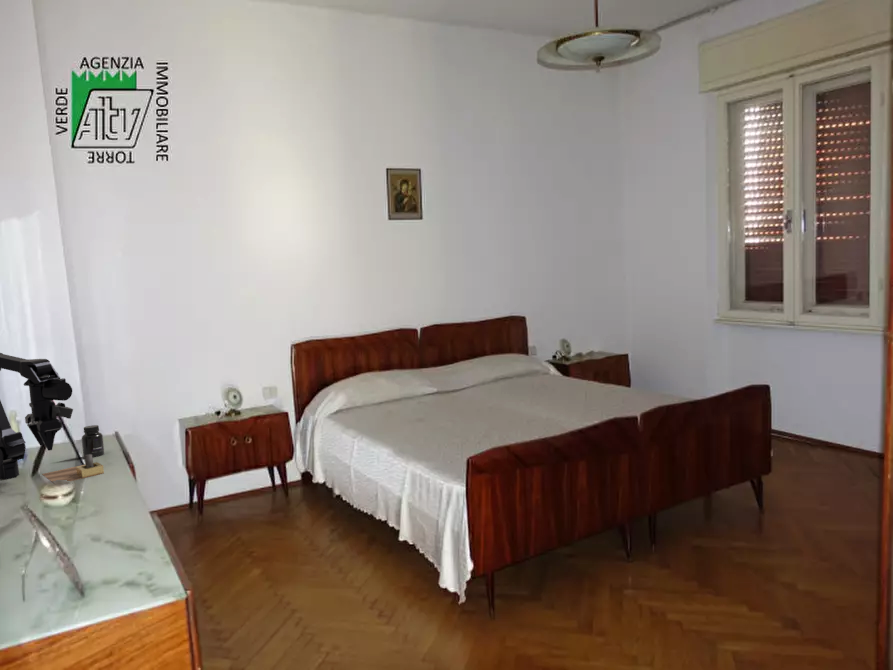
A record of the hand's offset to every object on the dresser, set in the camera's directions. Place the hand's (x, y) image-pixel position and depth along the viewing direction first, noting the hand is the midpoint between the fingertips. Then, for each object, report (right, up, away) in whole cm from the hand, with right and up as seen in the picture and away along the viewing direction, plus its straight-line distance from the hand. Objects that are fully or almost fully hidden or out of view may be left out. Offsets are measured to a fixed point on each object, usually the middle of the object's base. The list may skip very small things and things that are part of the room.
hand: (46, 447), depth 222 cm
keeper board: (+6, -11, +5) cm, 13 cm away
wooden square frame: (+12, -9, +4) cm, 16 cm away
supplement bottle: (+1, -9, +28) cm, 29 cm away
